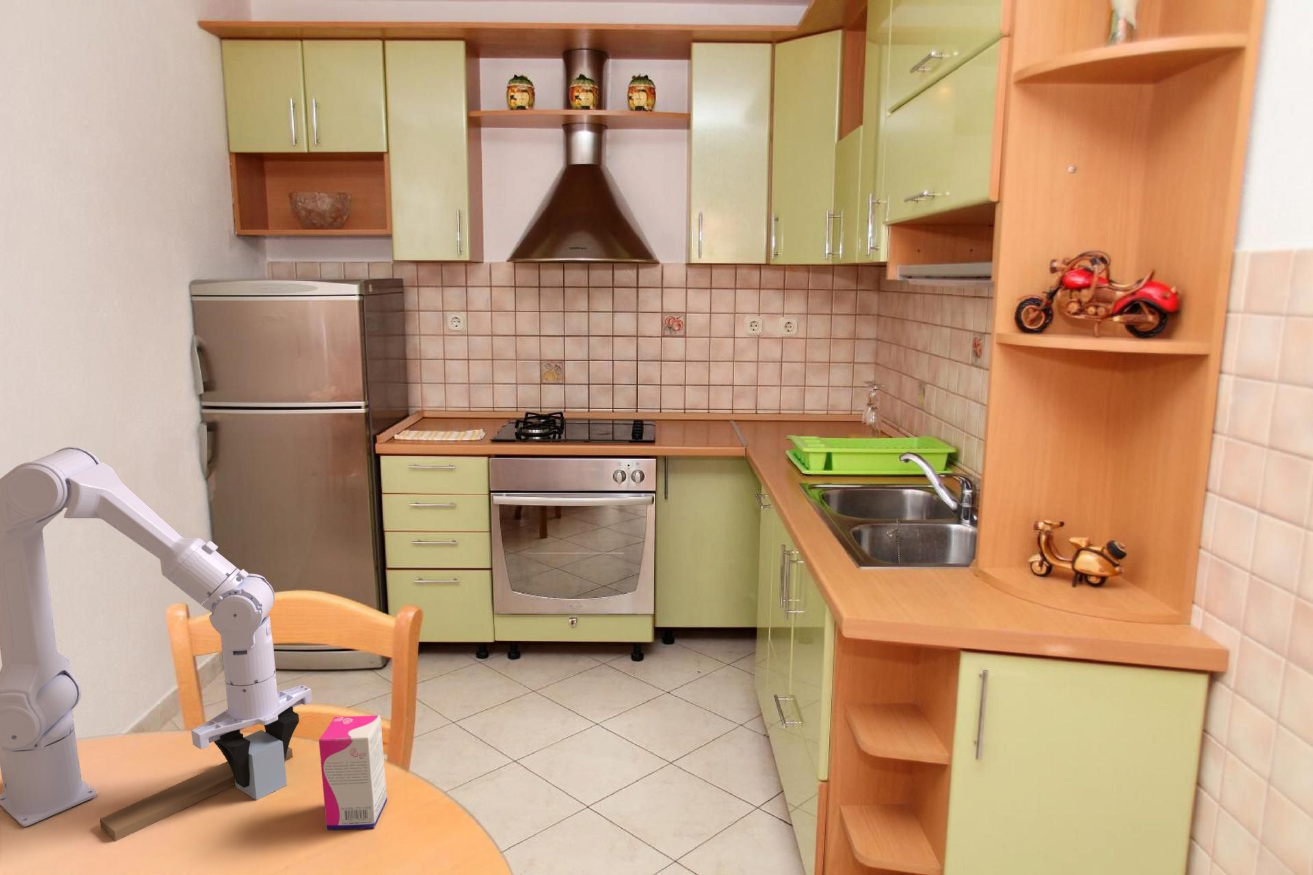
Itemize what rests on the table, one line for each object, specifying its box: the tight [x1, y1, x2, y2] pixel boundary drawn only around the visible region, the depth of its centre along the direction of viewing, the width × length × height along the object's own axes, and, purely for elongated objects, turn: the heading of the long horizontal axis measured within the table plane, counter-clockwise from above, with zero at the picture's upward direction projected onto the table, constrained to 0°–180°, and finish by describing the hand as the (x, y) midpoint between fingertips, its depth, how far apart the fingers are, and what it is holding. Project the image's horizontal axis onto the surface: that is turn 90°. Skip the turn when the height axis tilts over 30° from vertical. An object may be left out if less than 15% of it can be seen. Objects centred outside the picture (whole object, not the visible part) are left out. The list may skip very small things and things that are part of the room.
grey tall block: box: [234, 729, 288, 801], centre depth 114 cm, size 10×4×6 cm, turn 53°
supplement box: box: [318, 715, 388, 831], centre depth 106 cm, size 6×6×12 cm
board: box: [99, 746, 293, 842], centre depth 112 cm, size 4×22×1 cm, turn 143°
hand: (260, 775), depth 113 cm, fingers closed on grey tall block, 4 cm apart
